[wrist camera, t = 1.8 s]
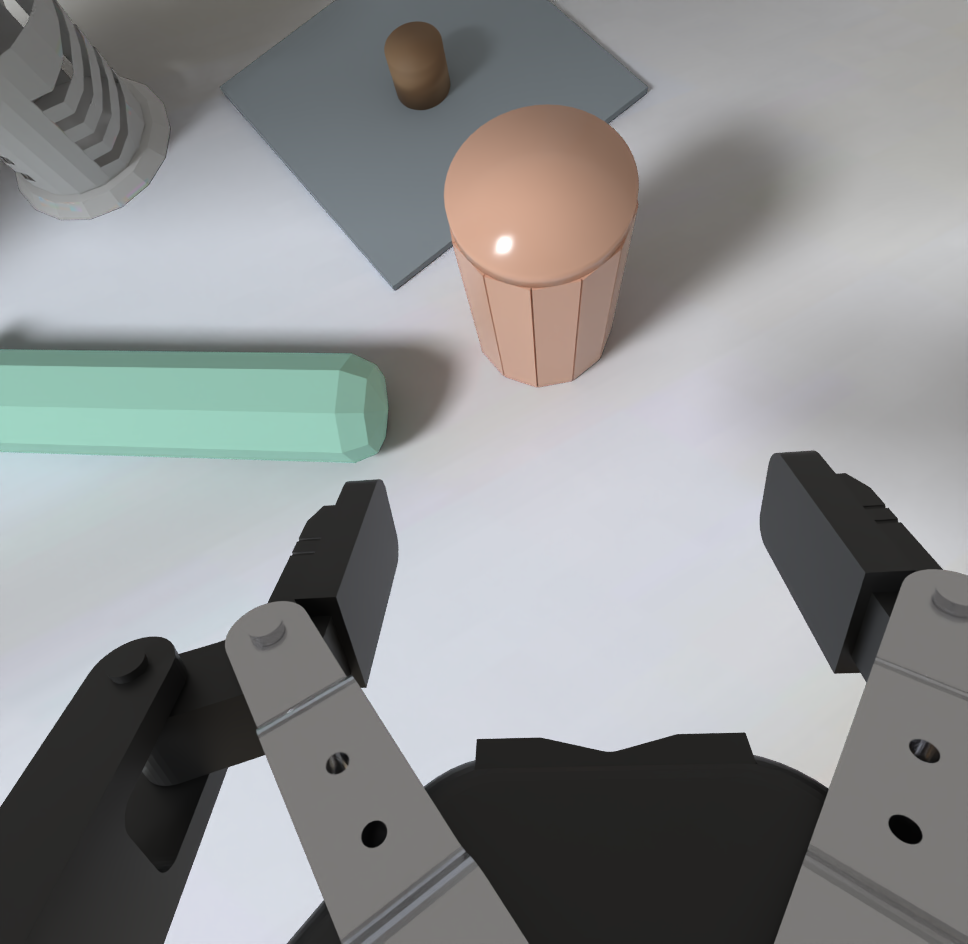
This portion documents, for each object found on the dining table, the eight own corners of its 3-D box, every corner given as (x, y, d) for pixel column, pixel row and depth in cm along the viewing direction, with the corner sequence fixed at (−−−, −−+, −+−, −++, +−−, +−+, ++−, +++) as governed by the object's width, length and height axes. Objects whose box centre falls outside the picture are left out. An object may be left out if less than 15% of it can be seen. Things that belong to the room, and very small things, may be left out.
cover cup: (535, 411, 28) (526, 313, 19) (453, 319, 30) (406, 183, 20) (637, 328, 29) (680, 190, 19) (551, 241, 30) (551, 71, 21)
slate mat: (394, 290, 31) (392, 286, 30) (223, 92, 35) (219, 86, 34) (646, 93, 31) (647, 87, 31) (450, -78, 35) (449, -86, 35)
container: (367, 340, 24) (-186, 335, 26) (370, 486, 25) (-162, 467, 27) (402, 345, 30) (-54, 340, 32) (404, 463, 31) (-38, 449, 33)
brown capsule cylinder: (418, 120, 32) (407, 80, 30) (386, 87, 33) (372, 46, 30) (461, 86, 32) (453, 45, 30) (428, 54, 33) (418, 11, 31)
